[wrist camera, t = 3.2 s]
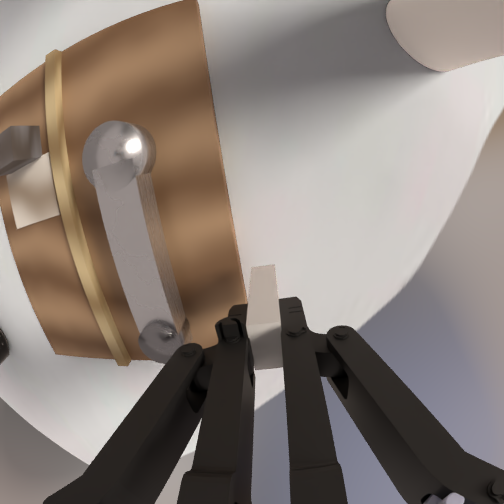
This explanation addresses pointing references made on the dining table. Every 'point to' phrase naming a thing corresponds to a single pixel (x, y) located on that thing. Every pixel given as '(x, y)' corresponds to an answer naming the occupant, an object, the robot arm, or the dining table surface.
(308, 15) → the dining table surface
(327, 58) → the dining table surface
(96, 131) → the bar
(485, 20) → the cup
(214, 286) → the door board
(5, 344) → the beverage can
